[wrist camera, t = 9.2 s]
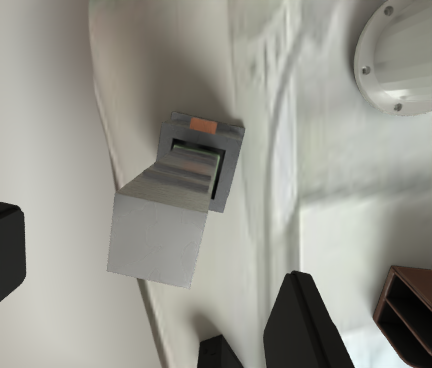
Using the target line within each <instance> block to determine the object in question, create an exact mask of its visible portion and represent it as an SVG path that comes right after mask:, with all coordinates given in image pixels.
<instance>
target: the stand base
mask: <svg viewBox="0 0 432 368" xmlns="http://www.w3.org/2000/svg"><path fill="white" fill-rule="evenodd" d="M244 133H245V128H242V127H238V126H233V125H229V124H225V123H221V122H216V121H212V120H208V119H204V118H199V117H195V116H191V115H186V114H182V113H178V112H172V116H171V120H170V121H165V122H162V126H161V133H160V140H159V146H158V153H157V159H156V162H157V161H158V160H159V159H161V158H162V157H163V156H165V155H166V154H167V153H168V152H170V151H171V150H172V149H174V145H175V144H181V145H186V146H190V147H194V148H199V149H203V150H207V151H212V152H216V153H220V159H219V163H218V167H217V172H216V176H215V180H214V185H213V189H212V193H211V198H210V203H209V209H208V210H211V211H216V212H220V213H223V212H224V208H225V204H226V200H227V197H228V195H229V192H230V188H231V184H232V180H233V176H234V172H235V168H236V164H237V160H238V156H239V152H240V149H241V145H242V141H243V137H244Z"/></svg>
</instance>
